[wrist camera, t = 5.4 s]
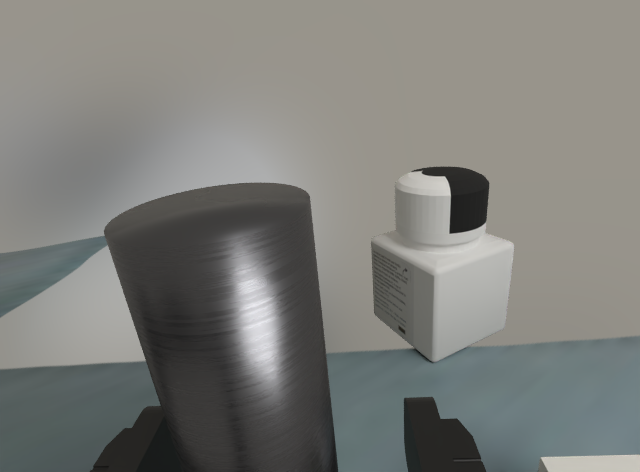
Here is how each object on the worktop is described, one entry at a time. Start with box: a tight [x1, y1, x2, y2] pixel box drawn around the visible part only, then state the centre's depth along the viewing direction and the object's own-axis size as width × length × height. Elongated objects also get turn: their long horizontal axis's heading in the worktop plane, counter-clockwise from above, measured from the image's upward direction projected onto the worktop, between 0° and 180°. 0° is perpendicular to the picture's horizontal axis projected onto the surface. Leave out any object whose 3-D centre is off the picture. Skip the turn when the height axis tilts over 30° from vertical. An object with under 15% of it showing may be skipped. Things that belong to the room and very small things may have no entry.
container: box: [371, 167, 514, 362], centre depth 29 cm, size 8×8×13 cm
